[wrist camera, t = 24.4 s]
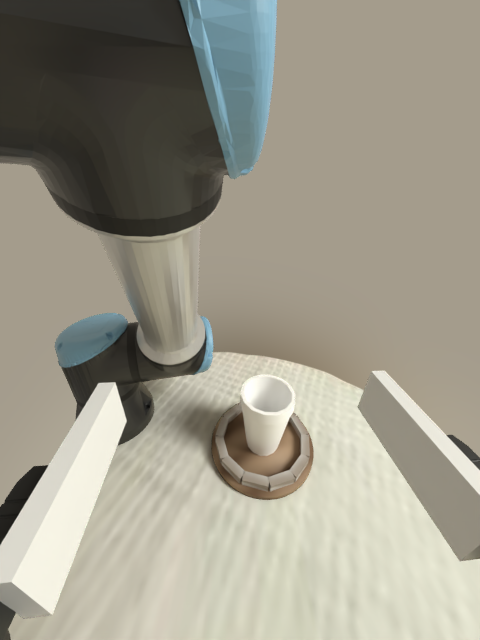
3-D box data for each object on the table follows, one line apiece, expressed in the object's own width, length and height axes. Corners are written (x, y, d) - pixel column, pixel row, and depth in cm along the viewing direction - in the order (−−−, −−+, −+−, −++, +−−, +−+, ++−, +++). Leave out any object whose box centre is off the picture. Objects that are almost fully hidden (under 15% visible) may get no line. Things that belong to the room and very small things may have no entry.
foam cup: (244, 416, 52) (247, 370, 46) (286, 425, 50) (295, 379, 44) (234, 458, 44) (235, 409, 37) (284, 470, 42) (294, 421, 36)
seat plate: (191, 444, 47) (190, 436, 46) (254, 391, 60) (255, 383, 59) (273, 531, 35) (274, 523, 34) (329, 441, 48) (332, 433, 47)
